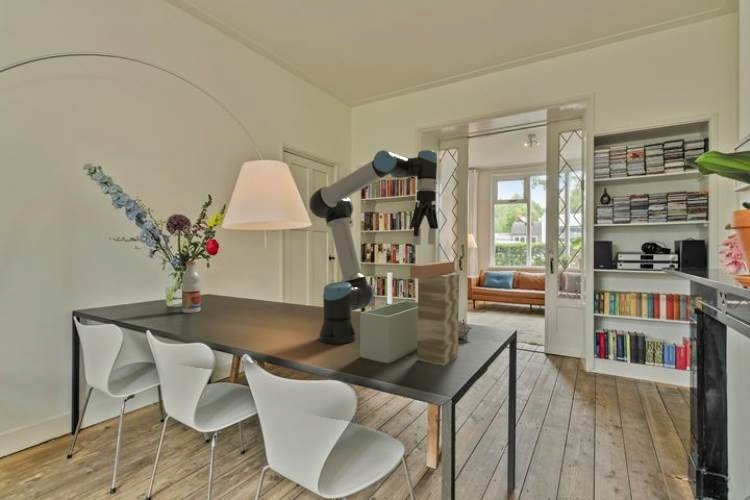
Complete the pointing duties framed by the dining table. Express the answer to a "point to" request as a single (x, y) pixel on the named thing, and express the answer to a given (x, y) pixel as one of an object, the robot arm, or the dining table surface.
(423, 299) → the stand
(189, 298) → the fruit juice
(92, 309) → the dining table surface
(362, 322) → the bin
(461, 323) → the grey bushy clump
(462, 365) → the dining table surface
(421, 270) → the beam
